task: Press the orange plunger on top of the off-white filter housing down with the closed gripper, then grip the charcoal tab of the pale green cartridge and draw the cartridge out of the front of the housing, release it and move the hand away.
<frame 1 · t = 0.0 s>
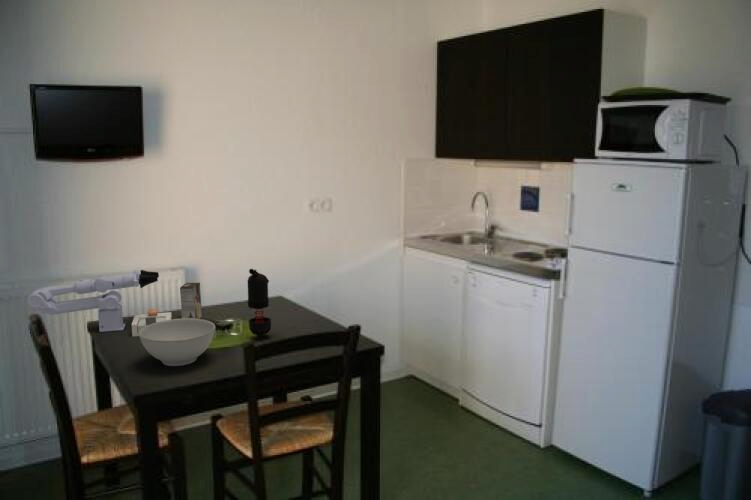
hand: (158, 276, 269), 22 cm above the table, tool horizontal, fingers open, 7 cm apart
cartridge: (151, 321, 263), point 4 cm above the table, slide at 0.0 cm
decorative bowl: (179, 360, 231), on the table
coffee box: (192, 319, 281), on the table
housing: (152, 329, 267), on the table
filter: (261, 337, 258), on the table
plunger: (152, 315, 271), point 5 cm above the table, slide at 0.0 cm
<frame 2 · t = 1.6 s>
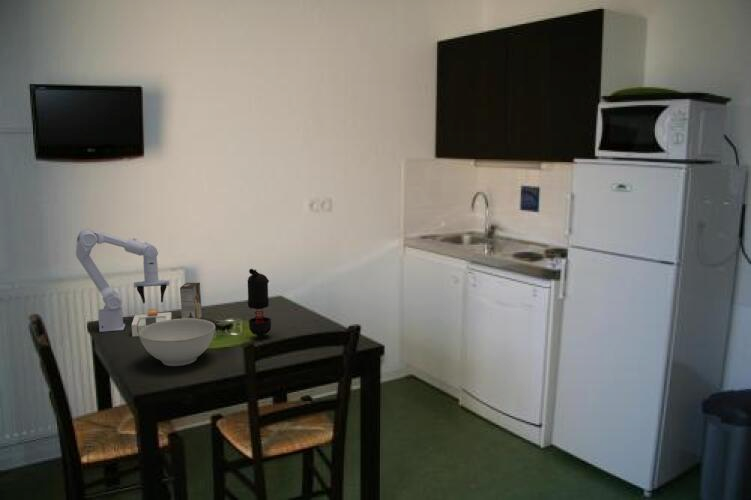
hand: (153, 302, 274), 9 cm above the table, tool pointing down, fingers open, 7 cm apart
nothing on the table moved.
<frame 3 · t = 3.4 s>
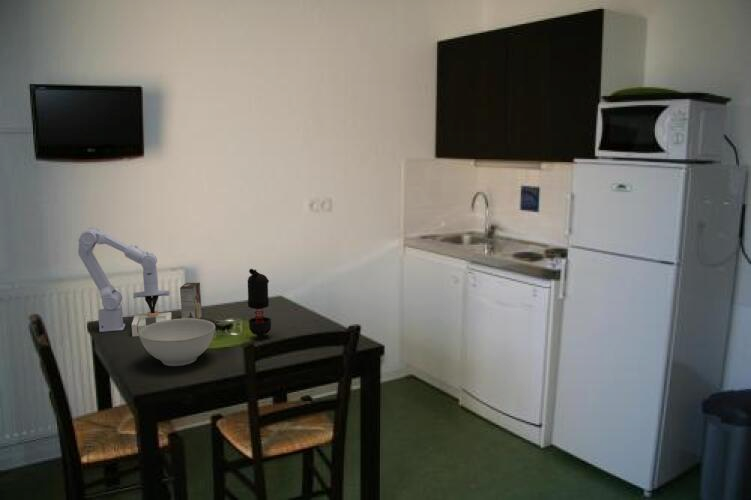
hand: (152, 312, 270), 6 cm above the table, tool pointing down, fingers closed, pressing on plunger
plunger: (153, 317, 271), point 4 cm above the table, slide at 0.9 cm, touching gripper
everything else where it was.
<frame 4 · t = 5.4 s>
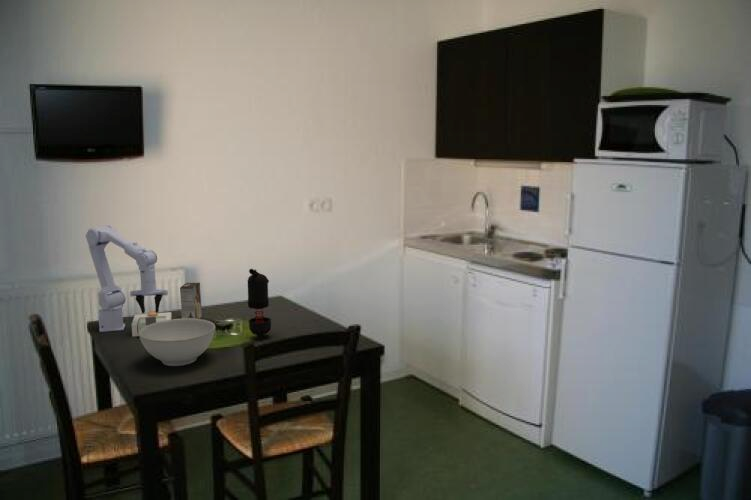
hand: (150, 312, 259), 9 cm above the table, tool pointing down, fingers open, 5 cm apart
plunger: (153, 317, 271), point 4 cm above the table, slide at 0.9 cm
everything else where it was.
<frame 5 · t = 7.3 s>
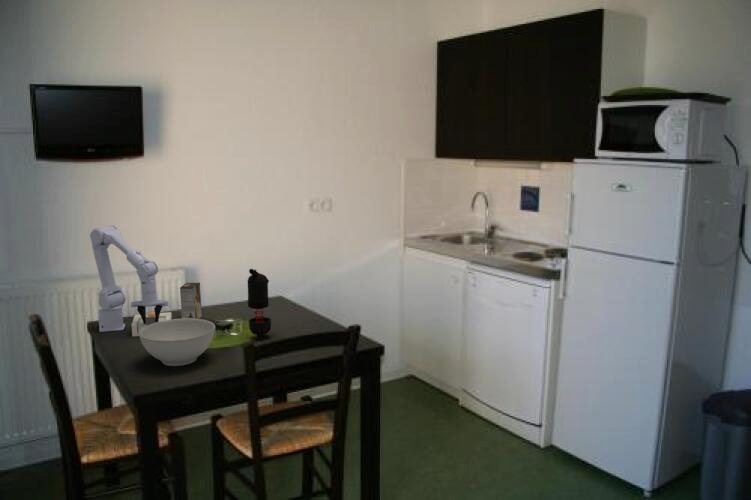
hand: (151, 323, 260), 5 cm above the table, tool pointing down, fingers closed on cartridge, 4 cm apart
cartridge: (151, 321, 263), point 4 cm above the table, slide at 0.0 cm, touching gripper
everything else where it was.
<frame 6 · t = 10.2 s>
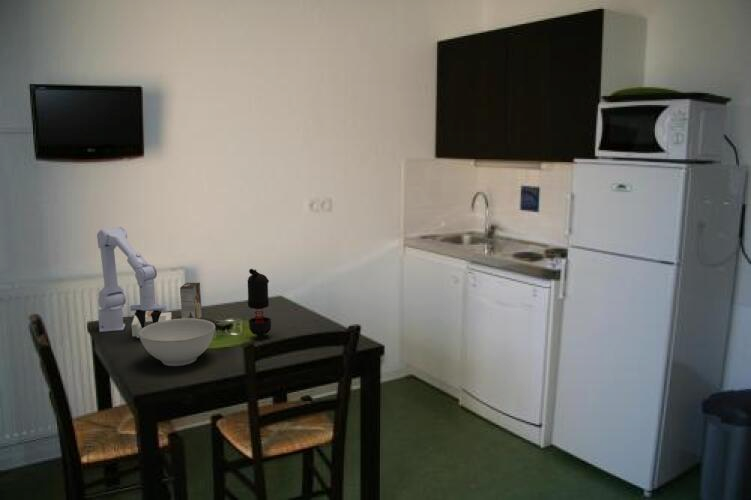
hand: (149, 328, 253), 5 cm above the table, tool pointing down, fingers closed on cartridge, 4 cm apart
cartridge: (150, 326, 257), point 4 cm above the table, slide at 6.5 cm, touching gripper
everything else where it was.
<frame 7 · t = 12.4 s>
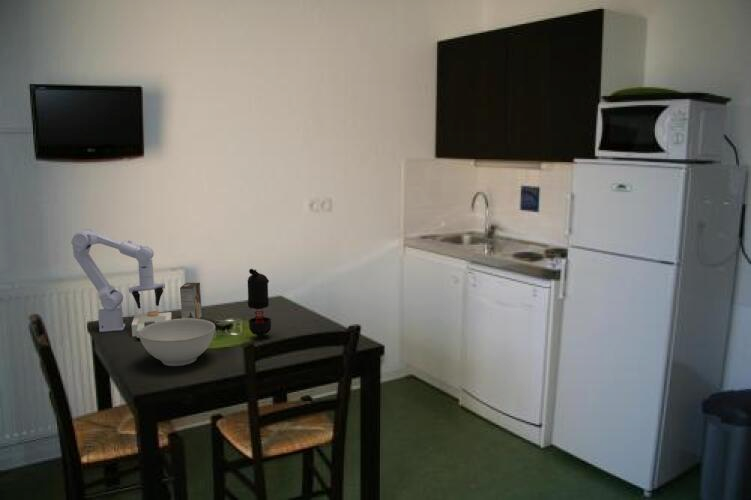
hand: (148, 306, 268), 9 cm above the table, tool pointing down, fingers open, 7 cm apart
cartridge: (150, 326, 257), point 4 cm above the table, slide at 6.5 cm
everything else where it was.
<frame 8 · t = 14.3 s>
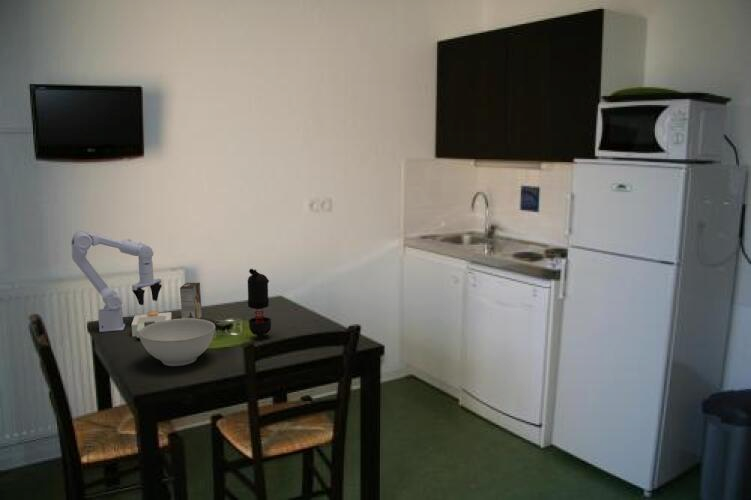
hand: (148, 302, 274), 9 cm above the table, tool pointing down, fingers open, 7 cm apart
nothing on the table moved.
at the end: plunger slide at 0.9 cm; cartridge slide at 6.5 cm; the gripper is holding nothing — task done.
